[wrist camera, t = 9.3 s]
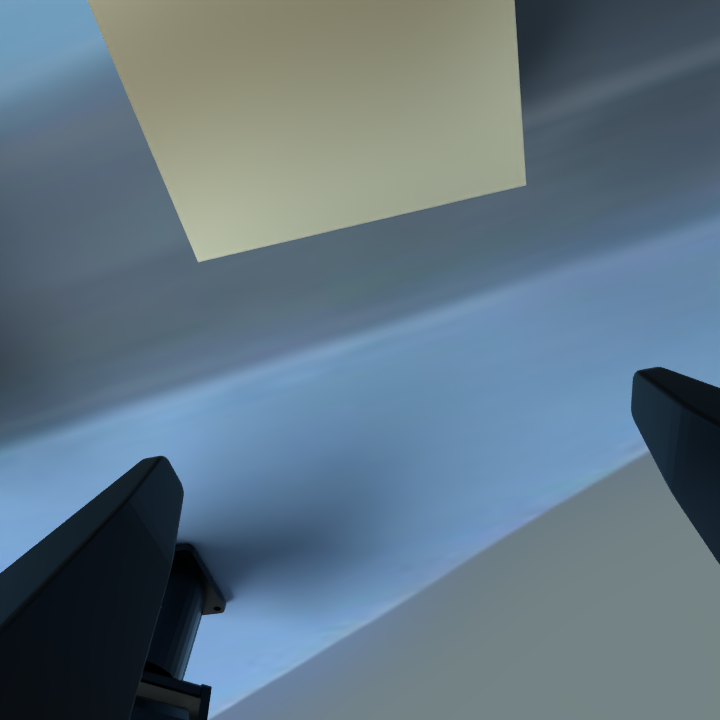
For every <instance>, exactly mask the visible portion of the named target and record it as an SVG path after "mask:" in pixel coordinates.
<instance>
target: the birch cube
mask: <svg viewBox="0 0 720 720" xmlns="http://www.w3.org/2000/svg"><path fill="white" fill-rule="evenodd" d="M88 3H89V5H90V7H91V10H92V12H93V15H94V17H95V19H96V22H97V24H98V26H99V29H100V31H101V33H102V36H103V38H104V41H105V43H106V45H107V48H108V50H109V52H110V55H111V57H112V59H113V62H114V64H115V67H116V69H117V71H118V74H119V76H120V78H121V81H122V83H123V85H124V88H125V90H126V93H127V95H128V97H129V100H130V102H131V104H132V107H133V109H134V111H135V114H136V116H137V119H138V121H139V123H140V126H141V128H142V130H143V133H144V135H145V137H146V140H147V142H148V145H149V147H150V149H151V152H152V154H153V156H154V159H155V161H156V163H157V166H158V168H159V171H160V173H161V175H162V178H163V180H164V182H165V185H166V187H167V189H168V192H169V194H170V196H171V199H172V201H173V204H174V206H175V208H176V211H177V213H178V215H179V218H180V220H181V222H182V225H183V227H184V230H185V232H186V234H187V237H188V239H189V241H190V244H191V246H192V248H193V251H194V253H195V256H196V258H197V260H198V262H201V261H205V260H209V259H213V258H218V257H222V256H226V255H231V254H235V253H239V252H243V251H248V250H252V249H256V248H260V247H265V246H269V245H273V244H277V243H282V242H286V241H290V240H294V239H299V238H303V237H307V236H311V235H316V234H320V233H324V232H328V231H333V230H337V229H341V228H346V227H350V226H354V225H358V224H363V223H367V222H371V221H375V220H380V219H384V218H388V217H392V216H397V215H401V214H405V213H409V212H414V211H418V210H422V209H426V208H431V207H435V206H439V205H443V204H448V203H452V202H456V201H461V200H465V199H469V198H473V197H478V196H482V195H486V194H490V193H495V192H499V191H503V190H507V189H512V188H516V187H520V186H524V185H526V175H525V159H524V144H523V128H522V112H521V96H520V80H519V64H518V48H517V32H516V16H515V0H88Z"/></svg>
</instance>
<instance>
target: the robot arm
mask: <svg viewBox="0 0 720 720" xmlns="http://www.w3.org/2000/svg"><path fill="white" fill-rule="evenodd" d="M631 412H632V416H633V419H634V421H635V423H636V425H637V427H638V429H639V431H640V433H641V435H642V437H643V439H644V441H645V443H646V445H647V447H648V449H649V451H650V452H651V454H652V456H653V458H654V460H655V462H656V464H657V466H658V468H659V470H660V472H661V474H662V476H663V478H664V480H665V481H666V483H667V485H668V487H669V489H670V491H671V492H672V494H673V495H674V497H675V499H676V500H677V502H678V503H679V505H680V506H681V508H682V509H683V511H684V512H685V514H686V515H687V517H688V518H689V520H690V521H691V523H692V524H693V526H694V527H695V529H696V530H697V532H698V533H699V534H700V536H701V537H702V539H703V540H704V542H705V543H706V545H707V546H708V548H709V549H710V551H711V552H712V554H713V555H714V557H715V558H716V560H717V561H718V563H719V564H720V388H718V387H715V386H713V385H710V384H707V383H704V382H702V381H699V380H696V379H693V378H690V377H688V376H685V375H682V374H679V373H676V372H674V371H671V370H668V369H665V368H662V367H654V368H649V369H643V370H638V371H637V372H636V373H635V374H634V376H633V386H632V401H631ZM183 496H184V491H183V487H182V484H181V482H180V480H179V478H178V476H177V475H176V473H175V471H174V469H173V467H172V465H171V464H170V462H169V460H168V459H167V458H166V457H164V456H157V457H151V458H146V459H143V460H141V461H140V462H139V463H138V464H136V465H135V466H134V467H133V468H131V469H130V470H129V471H128V472H126V473H125V474H124V475H123V476H121V477H120V478H119V479H118V480H116V481H115V482H114V483H113V484H111V485H110V486H109V487H108V488H106V489H105V490H104V491H103V492H101V493H100V494H99V495H98V496H96V497H95V498H94V499H93V500H91V501H90V502H89V503H88V504H86V505H85V506H84V507H83V508H81V509H80V510H79V511H78V512H76V513H75V514H74V515H73V516H71V517H70V518H69V519H68V520H66V521H65V522H64V523H63V524H61V525H60V526H59V527H58V528H56V529H55V530H54V531H53V532H51V533H50V534H49V535H48V536H46V537H45V538H44V539H43V540H41V541H40V542H39V543H38V544H36V545H35V546H34V547H33V548H31V549H30V550H29V551H28V552H26V553H25V554H24V555H23V556H21V557H20V558H19V559H18V560H16V561H15V562H14V563H13V564H11V565H10V566H9V567H8V568H6V569H5V570H4V571H3V572H1V573H0V720H207V717H208V710H209V702H210V695H211V686H208V685H204V684H202V685H197V684H194V683H190V682H187V681H183V678H184V675H185V671H186V668H187V665H188V661H189V658H190V654H191V651H192V648H193V644H194V641H195V637H196V634H197V631H198V627H199V624H200V620H201V617H202V615H209V614H217V613H222V612H224V610H225V607H226V602H225V600H224V598H223V597H222V595H221V593H220V591H219V590H218V588H217V586H216V584H215V583H214V581H213V579H212V578H211V576H210V574H209V572H208V571H207V569H206V567H205V565H204V564H203V562H202V560H201V559H200V557H199V555H198V553H197V552H196V550H195V548H194V547H193V546H191V545H187V544H184V545H177V546H175V545H176V539H177V533H178V527H179V521H180V515H181V509H182V503H183Z"/></svg>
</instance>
